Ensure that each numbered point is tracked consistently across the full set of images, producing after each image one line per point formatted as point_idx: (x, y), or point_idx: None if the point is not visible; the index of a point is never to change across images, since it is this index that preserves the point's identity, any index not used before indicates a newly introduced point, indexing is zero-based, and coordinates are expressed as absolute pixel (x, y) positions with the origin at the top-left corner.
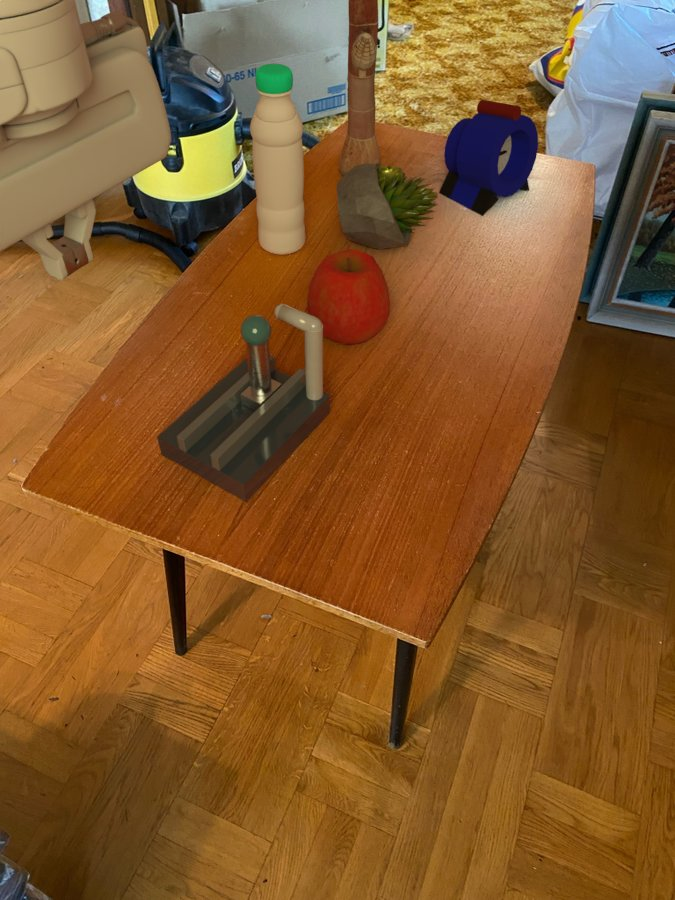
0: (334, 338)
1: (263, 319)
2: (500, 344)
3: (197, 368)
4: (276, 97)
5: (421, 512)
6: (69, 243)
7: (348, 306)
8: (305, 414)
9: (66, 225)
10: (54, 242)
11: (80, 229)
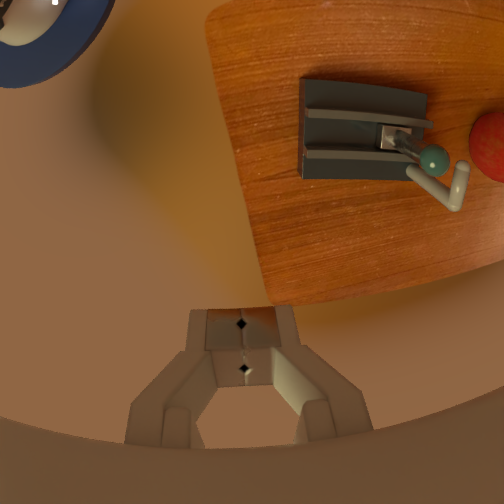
0: (470, 143)
1: (445, 172)
2: (488, 238)
3: (400, 44)
4: None
5: (348, 269)
6: (259, 369)
7: (493, 166)
8: (390, 176)
9: (293, 370)
10: (240, 348)
11: (292, 400)
